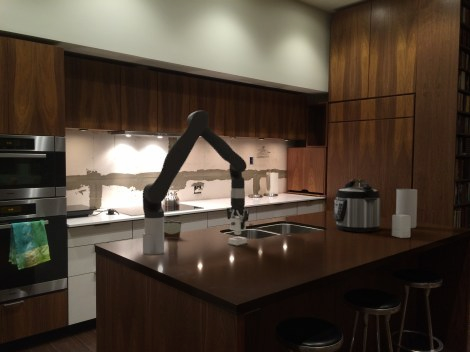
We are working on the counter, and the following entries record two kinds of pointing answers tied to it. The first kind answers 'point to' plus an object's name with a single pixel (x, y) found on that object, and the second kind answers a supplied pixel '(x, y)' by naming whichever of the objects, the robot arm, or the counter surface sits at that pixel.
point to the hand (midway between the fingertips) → (237, 228)
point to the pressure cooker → (357, 208)
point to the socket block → (237, 241)
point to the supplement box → (401, 225)
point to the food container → (172, 228)
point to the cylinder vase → (407, 204)
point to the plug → (236, 225)
